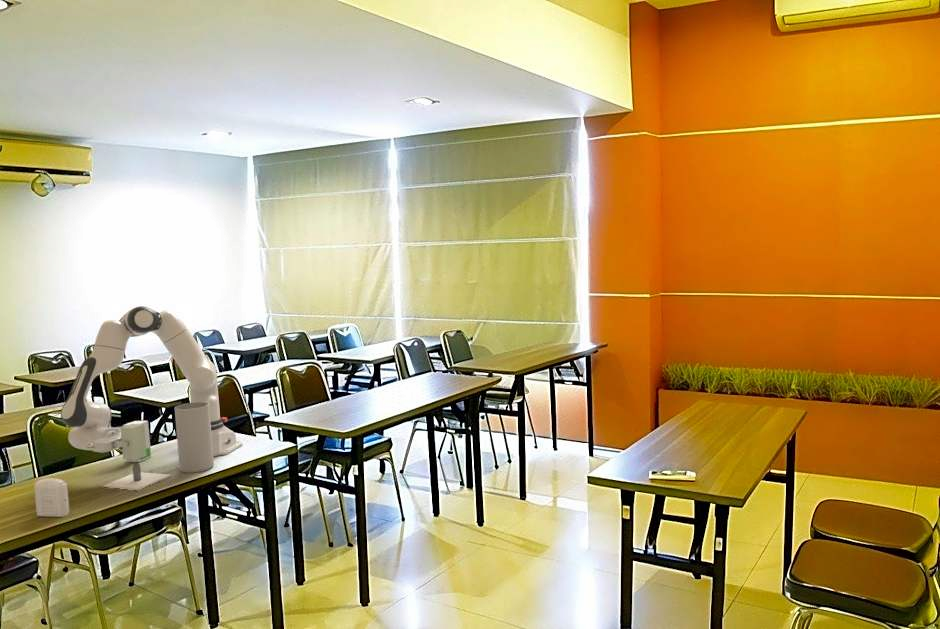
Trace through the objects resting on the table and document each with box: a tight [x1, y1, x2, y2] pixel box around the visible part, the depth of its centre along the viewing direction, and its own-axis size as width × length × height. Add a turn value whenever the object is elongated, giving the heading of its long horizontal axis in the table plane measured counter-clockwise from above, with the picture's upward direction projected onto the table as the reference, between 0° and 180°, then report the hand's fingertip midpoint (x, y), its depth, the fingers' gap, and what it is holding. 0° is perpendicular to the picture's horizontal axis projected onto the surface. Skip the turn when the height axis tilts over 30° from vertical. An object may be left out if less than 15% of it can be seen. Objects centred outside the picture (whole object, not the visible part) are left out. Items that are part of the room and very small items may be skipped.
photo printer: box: [34, 477, 70, 518], centre depth 238 cm, size 10×4×12 cm, turn 81°
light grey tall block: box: [120, 424, 147, 460], centre depth 268 cm, size 6×6×12 cm
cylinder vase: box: [174, 402, 215, 474], centre depth 283 cm, size 12×12×25 cm
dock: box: [103, 462, 171, 492], centre depth 270 cm, size 16×16×7 cm
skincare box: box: [122, 420, 152, 463], centre depth 299 cm, size 8×7×16 cm
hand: (135, 441), depth 268 cm, fingers closed on light grey tall block, 6 cm apart
